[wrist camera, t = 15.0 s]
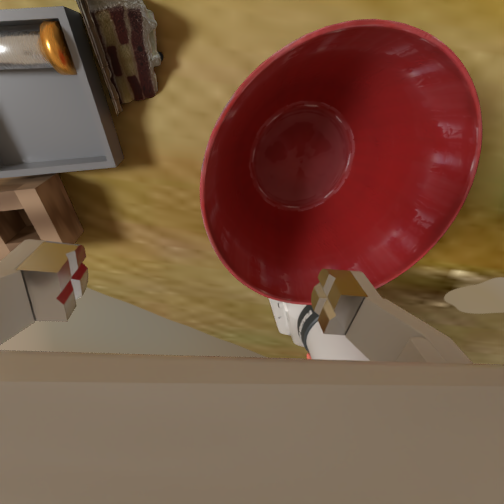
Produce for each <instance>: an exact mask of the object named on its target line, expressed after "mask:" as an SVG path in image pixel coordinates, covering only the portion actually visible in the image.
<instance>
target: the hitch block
mask: <svg viewBox="0 0 504 504" xmlns="http://www.w3.org/2000/svg"><path fill="white" fill-rule="evenodd" d="M83 232H84V230H83V228H82V226H81V224H80V221H79V219H78V217H77V215H76V212H75V210H74V208H73V206H72V203H71V201H70V199H69V197H68V195H67V192H66V190H65V188H64V186H63V183H62V181H61V179H60V177H59V174H58V173H51V174H40V175H30V176H19V177H9V178H0V261H1V260H2V259H3V258H5V257H6V256H7V255H8V254H9V253H10V252H11V251H13V250H14V249H15V248H16V247H17V246H18V245H20V244H21V243H22V242H23V241H24V240H28V239H33V240H44V241H52V242H61V243H69V244H75V242H76V241H77V240H78V238H79V237H80V236H81V234H82V233H83Z"/></svg>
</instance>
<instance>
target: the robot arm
mask: <svg viewBox="0 0 504 504" xmlns="http://www.w3.org/2000/svg"><path fill="white" fill-rule="evenodd" d="M85 258H86V254H85V248H84V247H83V246H82V245H78V244H69V243H61V242H52V241H44V240H33V239H28V240H24V241H23V242H22V243H21V244H20V245H18V246H17V247H16V248H15V249H14V250H13V251H11V252H10V253H9V254H8V255H7V256H6V257H5V258H3V259H2V260H1V261H0V345H1V344H3V343H4V342H6V341H7V340H9V339H10V338H12V337H13V336H15V335H16V334H18V333H19V332H21V331H22V330H24V329H25V328H27V327H28V326H30V325H31V324H33V323H34V322H35V321H66V322H67V321H68V319H69V317H70V316H71V314H72V312H73V311H74V309H75V307H76V301H75V300H76V299H78V298H80V297H82V295H83V294H84V292H85V290H86V287H87V283H88V268H87V267H86V266H85V265H84V264H83V263H82V262H83V260H84V259H85ZM318 280H319V282H320V283H318V284H317V285H316V286H314V288H313V291H312V295H311V303H312V305H300V304H291V303H285V302H280V301H277V300H273V299H270V298H269V301H270V304H271V308H272V311H273V314H274V317H275V321H276V324H277V327H278V330H279V332H280V333H282V334H286V335H291V337H292V340H293V342H294V343H295V344H296V345H299V346H304V347H305V348H306V350H307V351H308V352H309V353H308V354H307V359H289V358H255V357H219V356H217V357H215V356H183V355H146V354H111V353H77V352H44V351H43V352H42V351H41V352H40V351H9V350H0V504H504V365H498V364H473V363H472V362H471V361H470V360H469V358H468V357H467V356H466V355H465V354H464V353H463V352H462V351H461V349H460V348H459V347H458V346H457V345H456V344H455V343H454V342H453V340H452V339H451V338H449V337H448V336H446V335H445V334H443V333H441V332H440V331H438V330H436V329H435V328H433V327H431V326H430V325H428V324H427V323H425V322H423V321H422V320H420V319H418V318H417V317H415V316H413V315H412V314H410V313H409V312H407V311H405V310H404V309H402V308H400V307H399V306H397V305H395V304H394V303H392V302H391V301H389V300H387V299H382V297H381V296H380V295H379V293H378V292H377V291H376V289H375V288H374V287H373V285H372V284H371V283H370V281H369V280H368V279H367V277H366V276H365V275H364V273H362V272H361V271H351V270H334V269H322V270H321V271H320V273H319V275H318Z"/></svg>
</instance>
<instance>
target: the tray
mask: <svg viewBox="0 0 504 504" xmlns="http://www.w3.org/2000/svg"><path fill="white" fill-rule="evenodd" d="M44 21H60V24H61V27H62V30H63V33H64V36H65V39H66V42H67V45H68V48H69V51H70V54H71V57H72V60H73V63H74V65H75V68H76V71H77V75H62V74H60V73H58V72H57V71H56V70H55V69H54V68H30V69H5V70H0V178H9V177H19V176H30V175H40V174H51V173H61V172H71V171H82V170H92V169H103V168H113V167H117V166H118V165H119V164H120V162H121V161H122V160H123V159H124V156H123V153H122V150H121V146H120V143H119V140H118V136H117V133H116V130H115V127H114V123H113V120H112V117H111V114H110V110H109V107H108V104H107V101H106V97H105V94H104V91H103V87H102V84H101V81H100V78H99V74H98V71H97V68H96V65H95V61H94V58H93V55H92V52H91V48H90V45H89V42H88V38H87V35H86V32H85V29H84V25H83V22H82V19H81V16H80V13H78V12H76V11H74V10H71V9H69V8H66V7H64V6H59V7H41V8H23V9H5V10H0V32H23V31H40V25H41V23H42V22H44Z"/></svg>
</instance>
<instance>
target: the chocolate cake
mask: <svg viewBox="0 0 504 504" xmlns="http://www.w3.org/2000/svg"><path fill="white" fill-rule="evenodd" d="M76 2H77V4H78V7H79V9H80V11H81V14H82V16H83V19H84V23H85V25H86V28H87V31H88V35H89V38H90V40H91V44H92V46H93V49H94V52H95V55H96V56H97V59H98V62H99V66H100V67H101V70H102V73H103V76H104V80H105V82H106V85H107V88H108V91H109V94H110V97H111V99H112V103H113V105H114V107H115V111H116V113H117V116H118V114H119V113H120V112H122V111H123V109H122V107H121V104H122V103H129V102H131V101H132V100H136V101H139V100H144V99H145V98H151V97H154V96H155V94H156V92H157V91H158V89H157V78H156V74H155V72H154V70H153V69H154V66H159V65H161V61H162V60H163V55H162V53H161V52H159V51H157V42H156V30H155V29H156V27H157V22H156V21H155V18H154V14H153V12H152V11H150V10H148V9H147V8H146V6H145V5H144V3H143V1H142V0H76Z"/></svg>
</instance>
